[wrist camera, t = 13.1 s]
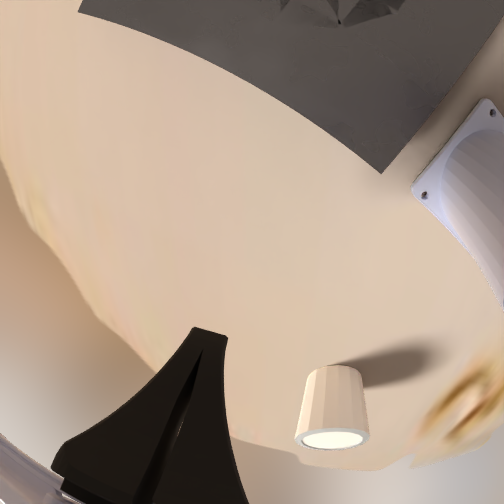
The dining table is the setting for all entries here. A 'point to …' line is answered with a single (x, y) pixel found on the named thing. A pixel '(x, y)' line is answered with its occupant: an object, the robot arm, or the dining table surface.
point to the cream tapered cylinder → (333, 410)
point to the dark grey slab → (329, 55)
